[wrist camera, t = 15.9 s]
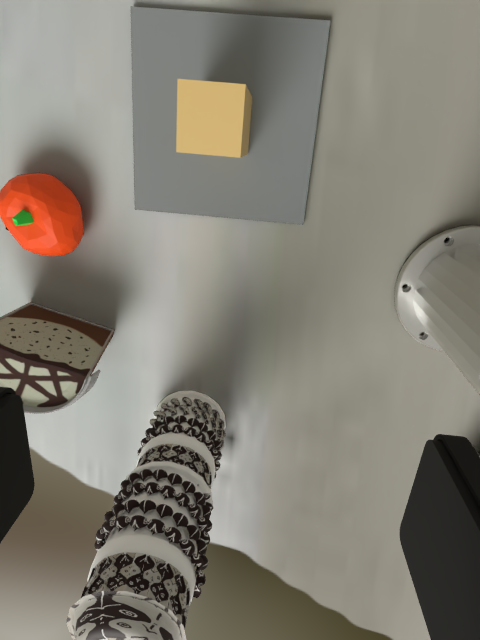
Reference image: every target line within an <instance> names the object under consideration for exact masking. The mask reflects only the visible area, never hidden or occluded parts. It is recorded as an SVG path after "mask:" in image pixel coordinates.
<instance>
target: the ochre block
mask: <svg viewBox="0 0 480 640" xmlns="http://www.w3.org/2000/svg"><path fill="white" fill-rule="evenodd" d="M251 109H252V95H251V94H250V92H249V90H248V88H247V86H246V84H237V83H225V82H212V81H200V80H187V79H178V80H177V135H176V152H180V153H191V154H203V155H214V156H226V157H237V158H241V157H243V156H245V155H247V154H248V147H249V134H250V122H251Z"/></svg>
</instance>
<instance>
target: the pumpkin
mask: <svg viewBox="0 0 480 640" xmlns="http://www.w3.org/2000/svg"><path fill="white" fill-rule="evenodd" d="M0 217H1V219H2V221H3V222H4V224H5V226H6V229H7V230H8V231H10V233H11V234H12V235H13V237H14V238H15V239H16V240H17V241H18V242H19V244H20V245H21V246H22V247H23V248H24V249H26V250H28V251H30V252H33V253H36V254H40V255H45V256H60V255H65V254H68V253H70V252H73V251H74V249H75V248H76V247H77V246H78V245H79V243H80V241H81V238H82V236H83V234H84V231H83V220H82V211H81V206H80V204H79V202H78V200H77V198H76V197H75V195H74V194H73V193H72V191H71V190H70V189H69V188H67V187H66V186H65V185H64V184H63V183H62V182H61V181H60V180H58V179H57V178H55V177H54V176H52V175H48V174H43V173H33V174H24V175H17V176H16V177H14V178H13V179H11V180H9V181H8V182H7V184H6V185H5V186H4V187H3V188H2V189H1V191H0Z"/></svg>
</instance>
